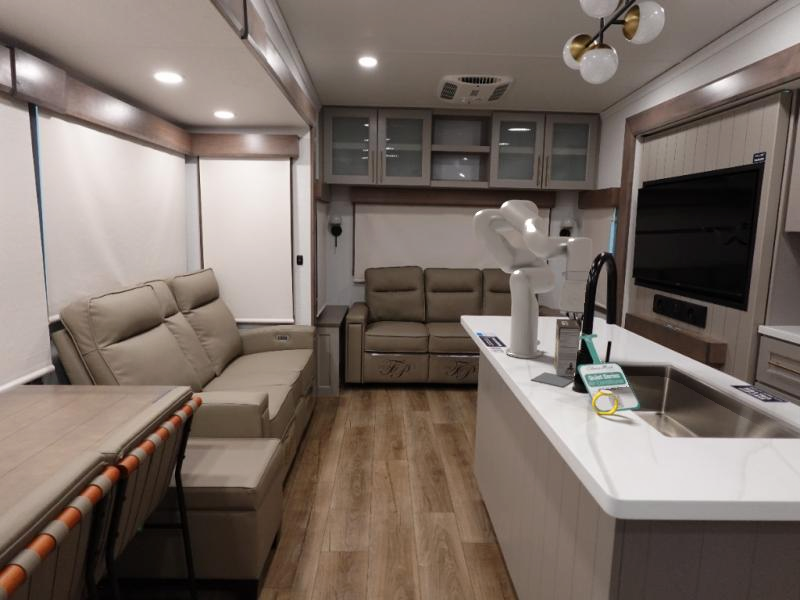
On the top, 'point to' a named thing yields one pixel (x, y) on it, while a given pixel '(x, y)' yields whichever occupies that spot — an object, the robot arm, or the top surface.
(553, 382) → the mat
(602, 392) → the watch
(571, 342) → the coffee box
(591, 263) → the robot arm
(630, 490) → the top surface
